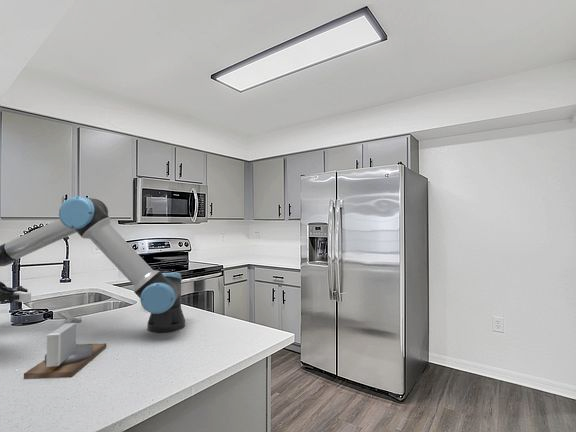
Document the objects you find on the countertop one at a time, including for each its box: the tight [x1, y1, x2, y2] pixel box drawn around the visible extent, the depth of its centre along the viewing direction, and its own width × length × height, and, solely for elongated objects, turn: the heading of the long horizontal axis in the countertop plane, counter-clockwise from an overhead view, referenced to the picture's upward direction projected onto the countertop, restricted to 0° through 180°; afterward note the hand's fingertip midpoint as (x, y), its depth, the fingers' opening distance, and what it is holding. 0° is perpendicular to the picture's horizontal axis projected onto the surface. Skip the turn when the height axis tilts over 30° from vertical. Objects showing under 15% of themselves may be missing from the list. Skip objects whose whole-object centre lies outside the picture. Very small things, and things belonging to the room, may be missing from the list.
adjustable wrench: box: [57, 310, 83, 324], centre depth 151 cm, size 25×6×2 cm, turn 43°
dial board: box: [23, 343, 107, 380], centre depth 105 cm, size 13×22×2 cm, turn 5°
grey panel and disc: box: [44, 322, 93, 367], centre depth 104 cm, size 17×13×11 cm
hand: (28, 297), depth 102 cm, fingers closed
